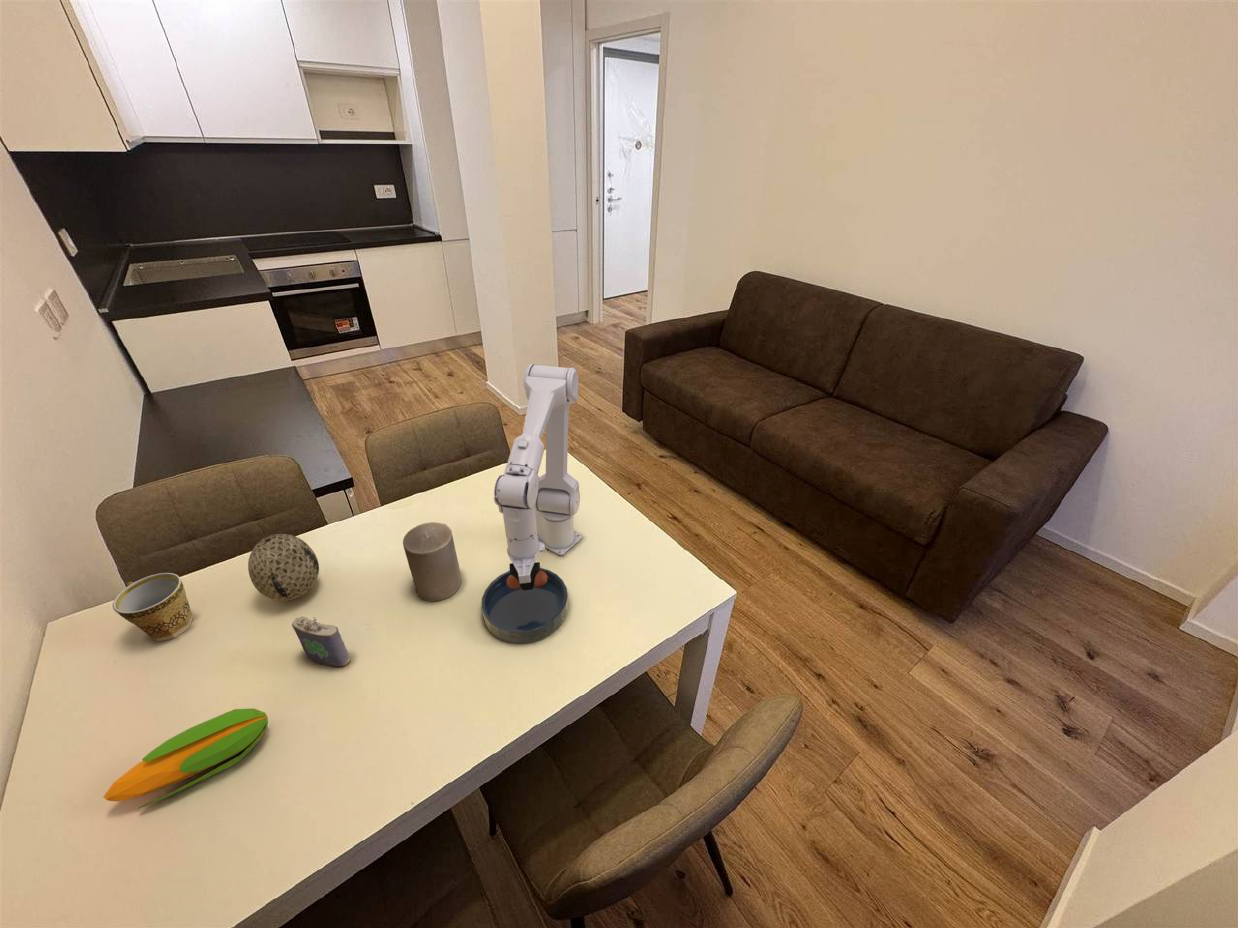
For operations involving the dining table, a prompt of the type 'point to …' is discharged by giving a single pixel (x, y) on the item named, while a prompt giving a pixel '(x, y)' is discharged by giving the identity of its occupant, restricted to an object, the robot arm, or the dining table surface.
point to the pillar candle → (432, 561)
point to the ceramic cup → (156, 606)
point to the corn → (192, 754)
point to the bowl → (524, 609)
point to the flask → (321, 642)
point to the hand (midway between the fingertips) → (527, 582)
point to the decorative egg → (283, 567)
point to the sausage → (539, 581)
